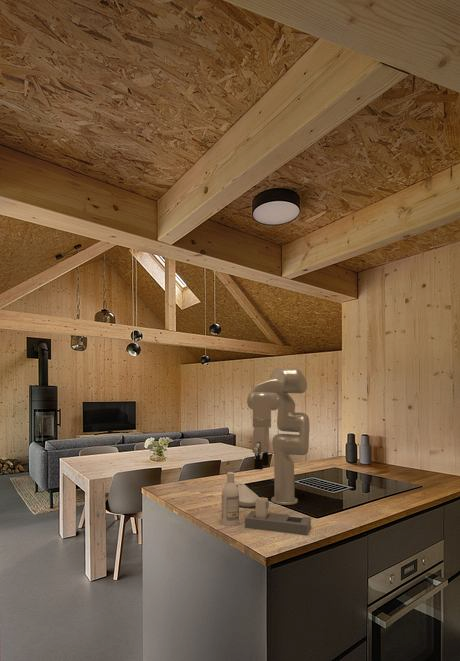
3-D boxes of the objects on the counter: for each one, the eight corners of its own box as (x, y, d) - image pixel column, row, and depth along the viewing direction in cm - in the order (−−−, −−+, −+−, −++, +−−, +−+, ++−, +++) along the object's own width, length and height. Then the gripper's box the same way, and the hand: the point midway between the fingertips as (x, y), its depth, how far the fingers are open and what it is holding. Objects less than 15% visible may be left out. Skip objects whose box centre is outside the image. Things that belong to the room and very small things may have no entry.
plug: (258, 523, 166) (258, 497, 167) (269, 524, 164) (269, 498, 166) (255, 526, 162) (255, 499, 163) (267, 527, 160) (266, 500, 162)
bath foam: (242, 524, 165) (242, 472, 168) (230, 528, 160) (231, 475, 163) (229, 520, 170) (230, 470, 173) (217, 524, 165) (218, 472, 168)
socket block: (251, 521, 170) (251, 510, 170) (310, 528, 162) (310, 517, 162) (244, 529, 160) (244, 517, 161) (307, 536, 153) (306, 525, 153)
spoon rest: (263, 509, 187) (263, 492, 188) (237, 510, 184) (238, 494, 185) (248, 495, 210) (248, 480, 210) (225, 496, 207) (225, 481, 208)
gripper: (258, 421, 178) (258, 463, 175) (246, 425, 161) (246, 470, 159) (275, 422, 175) (275, 464, 173) (265, 425, 159) (265, 472, 157)
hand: (261, 467), depth 166 cm, fingers open, 9 cm apart
